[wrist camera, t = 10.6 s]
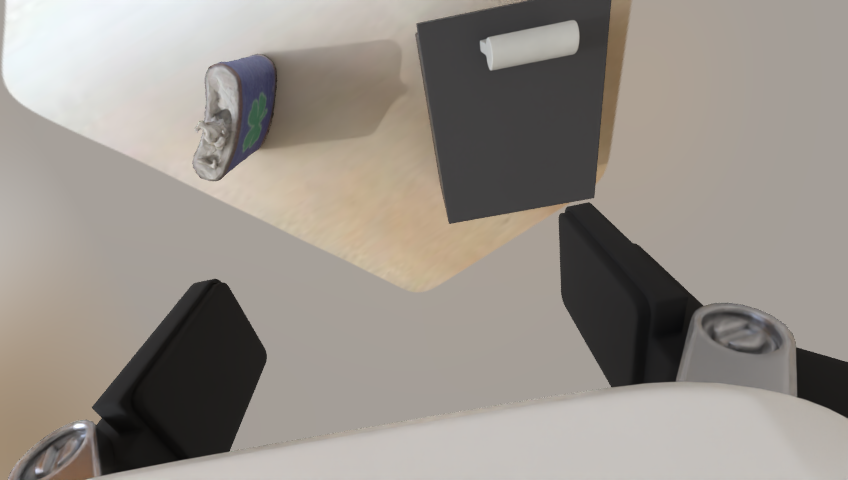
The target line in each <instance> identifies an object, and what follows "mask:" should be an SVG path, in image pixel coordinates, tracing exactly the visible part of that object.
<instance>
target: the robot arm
mask: <svg viewBox="0 0 848 480" xmlns="http://www.w3.org/2000/svg"><path fill="white" fill-rule="evenodd" d="M559 236H560V237H559V239H560V267H561V268H560V269H561V295H562V298H563V302H564V305H565V307H566V309H567V310H568V312H569V314H570V316H571V317H572V319H573V321H574V323H575V324H576V326H577V328H578V330H579V331H580V333H581V335H582V337H583V338H584V340H585V342H586V344H587V345H588V347H589V349H590V350H591V352H592V354H593V356H594V357H595V359H596V361H597V363H598V364H599V366H600V368H601V370H602V371H603V373H604V375H605V377H606V378H607V380H608V382H609V384H610V385H611V388H604V389H597V390H590V391H584V392H577V393H571V394H564V395H557V396H551V397H544V398H538V399H531V400H526V401H519V402H513V403H507V404H501V405H495V406H489V407H484V408H478V409H472V410H466V411H460V412H454V413H448V414H442V415H436V416H430V417H424V418H419V419H413V420H406V421H401V422H395V423H389V424H384V425H378V426H372V427H366V428H360V429H355V430H349V431H344V432H338V433H332V434H326V435H320V436H315V437H309V438H304V439H297V440H292V441H286V442H281V443H275V444H269V445H264V446H258V447H253V448H247V449H242V450H236V451H231V452H229V451H230V449H231V446H232V444H233V441H234V439H235V436H236V434H237V432H238V429H239V427H240V424H241V422H242V419H243V417H244V414H245V412H246V409H247V407H248V405H249V402H250V400H251V397H252V395H253V393H254V390H255V388H256V385H257V383H258V380H259V378H260V375H261V373H262V371H263V368H264V366H265V363H266V359H267V354H266V350H265V348H264V347H263V345H262V343H261V341H260V340H259V338H258V336H257V335H256V333H255V331H254V329H253V328H252V326H251V324H250V322H249V321H248V319H247V317H246V315H245V314H244V312H243V310H242V309H241V307H240V305H239V303H238V302H237V300H236V298H235V297H234V295H233V293H232V292H231V290H230V288H229V286H228V285H227V284H226V283H222V282H221V281H219V280H217V279H212V280H207V281H202V282H198V283H194V284H193V285H192V286H191V287H190V288H189V289H188V291H187V292H186V293H185V294H184V296H183V297H182V298H181V299H180V300H179V302H178V303H177V304H176V305H175V306H174V308H173V309H172V310H171V311H170V313H169V314H168V315H167V316H166V318H165V319H164V320H163V321H162V322H161V324H160V325H159V326H158V327H157V329H156V330H155V331H154V332H153V333H152V335H151V336H150V337H149V338H148V339H147V341H146V342H145V343H144V344H143V346H142V347H141V348H140V349H139V350H138V352H137V353H136V354H135V355H134V357H133V358H132V359H131V361H129V363H128V364H127V365H126V366H125V368H124V369H123V370H122V371H121V372H120V374H119V375H118V376H117V378H116V379H115V380H114V381H113V382H112V383H111V385H110V386H109V387H108V388H107V390H106V391H105V392H104V393H103V394H102V396H101V397H100V398H99V399H98V401H97V402H96V403H95V404H94V406H93V407H92V408H93V409H94V410H95V411H96V412H97V413H98V414H99V415H100V416H101V417H102V419H101V420H100V421H99V423H98V424H97V425H95V424H94V423H93V422H92V421H89V420H80V421H76V422H73V423H70V424H67V425H65V426H63V427H61V428H59V429H57V430H56V431H54V432H52V433H51V434H49V435H48V436H46V437H45V438H43V439H42V440H40V441H39V442H38V443H37V444H36V445H34V446H33V447H32V448H31V449H30V450H28V451H27V453H26V454H25V455H24V456H23V457H22V458H21V459H20V460H19V461H18V462H17V464H16V465H15V466H14V468H13V469H12V471H11V472H10V475H9V477H8V480H848V362H845V361H841V360H838V359H835V358H831V357H828V356H824V355H821V354H817V353H814V352H810V351H807V350H803V349H800V348H796V342H795V339H794V336H793V333H792V332H791V331H790V330H789V329H788V327H787V326H786V325H785V324H784V323H782V322H781V321H779V320H778V319H776V318H775V317H773V316H772V315H770V314H768V313H766V312H763V311H761V310H759V309H756V308H752V307H749V306H745V305H741V304H733V303H714V304H709V305H706V306H703V305H702V304H701V303H700V302H699V301H698V300H697V299H696V298H695V297H694V296H692V295H691V294H690V293H689V292H688V291H687V290H686V289H685V288H684V287H683V286H682V285H681V284H680V283H679V282H678V281H676V280H675V279H674V278H673V277H672V276H671V275H670V274H669V273H668V272H667V271H666V270H665V269H664V268H663V267H662V266H660V265H659V264H658V263H657V262H656V261H655V260H654V259H653V258H652V257H651V256H650V255H649V254H648V253H646V252H645V251H644V250H643V249H642V248H641V247H640V246H639V245H637V244H633V243H632V242H631V241H630V240H629V239H628V238H627V237H625V236H624V235H623V234H622V233H621V232H620V231H619V230H618V229H617V228H616V227H615V226H614V225H613V224H612V223H611V222H610V221H609V220H608V219H607V218H606V217H605V216H604V215H602V214H601V213H600V212H599V211H598V210H597V209H596V208H595V207H594V206H593V205H592V204H591V203H583V204H579V205H574V206H569V207H567V208H566V210H565V213H561V214H560V215H559Z"/></svg>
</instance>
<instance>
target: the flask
mask: <svg viewBox="0 0 848 480" xmlns="http://www.w3.org/2000/svg"><path fill="white" fill-rule="evenodd" d="M276 76H277V75H276V68H275V67H274V63H273V62H272V61H271V60H270V59H269V58H267V57H266V56H264V55H261V54H256V55H252V56H250V57H246V58H242V59H239V60H234V61H230V62H220V63H217V64H214V65H212V66H210V67H209V68H208V70H207V72H206V76H205V89H206V107H205V109H206V111H205V119H204V121H199V123H198V125H197V126H196V127H195V131H196V132H197V133H198V131H199V129H203V133H202V137H201V140H200V144H199V146H198V149H197V151H196V153H195V155H194V158H193V163H192V164H193V168H194V169H195V171H196V173H197V174H198V175H199V177H200V178H202V179H205V180H208V181H218V180H220V179H222V178H223V177H224V176H225V175H226V174H227V173H228V172H229V171H230V170H232V169H233V168H234V167H235V166H237V165H238V164H239V163H240V162H242V161H243V160H245V159H246V158H247V157H248V156H249V155H251V154H252V153H253V152H255V151H257V150H258V149H259V148H260V147H261V145H262V144H263V143H264V141H265V139H266V135H267V134H268V132H269V128H270V126H271V122H272V117H273V109H274V103H275V96H276V95H275V93H276V82H277V77H276Z"/></svg>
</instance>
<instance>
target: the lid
mask: <svg viewBox="0 0 848 480" xmlns="http://www.w3.org/2000/svg"><path fill="white" fill-rule="evenodd" d="M610 8H611V0H528V1H523V2H518V3H513V4H508V5H504V6H499V7H494V8H489V9H484V10H479V11H474V12H470V13H465V14H460V15H455V16H450V17H445V18H441V19H436V20H431V21H426V22H421V23H417V31H418V37H419V43H420V49H421V55H422V62H423V68H424V74H425V80H426V86H427V92H428V99H429V105H430V111H431V117H432V123H433V129H434V136H435V142H436V148H437V154H438V160H439V166H440V173H441V179H442V185H443V191H444V197H445V204H446V210H447V216H448V221H449V224H451V223H456V222H462V221H468V220H473V219H479V218H484V217H490V216H496V215H501V214H507V213H512V212H518V211H524V210H529V209H535V208H540V207H546V206H552V205H557V204H563V203H568V202H574V201H579V200H585V199H591V198H594V194H595V182H596V171H597V159H598V148H599V136H600V124H601V113H602V101H603V90H604V78H605V66H606V55H607V43H608V32H609V20H610Z"/></svg>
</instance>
